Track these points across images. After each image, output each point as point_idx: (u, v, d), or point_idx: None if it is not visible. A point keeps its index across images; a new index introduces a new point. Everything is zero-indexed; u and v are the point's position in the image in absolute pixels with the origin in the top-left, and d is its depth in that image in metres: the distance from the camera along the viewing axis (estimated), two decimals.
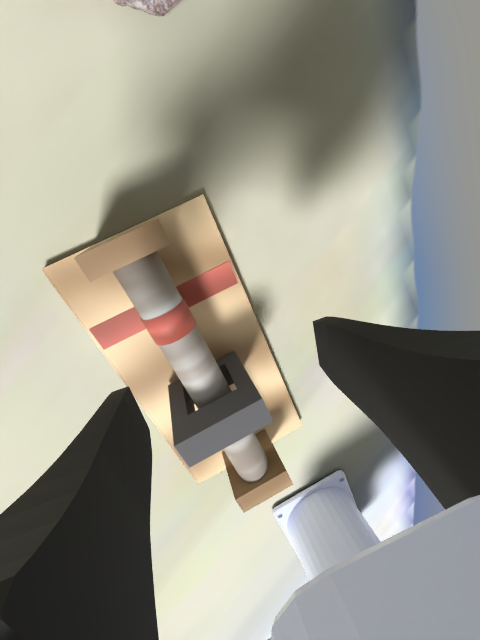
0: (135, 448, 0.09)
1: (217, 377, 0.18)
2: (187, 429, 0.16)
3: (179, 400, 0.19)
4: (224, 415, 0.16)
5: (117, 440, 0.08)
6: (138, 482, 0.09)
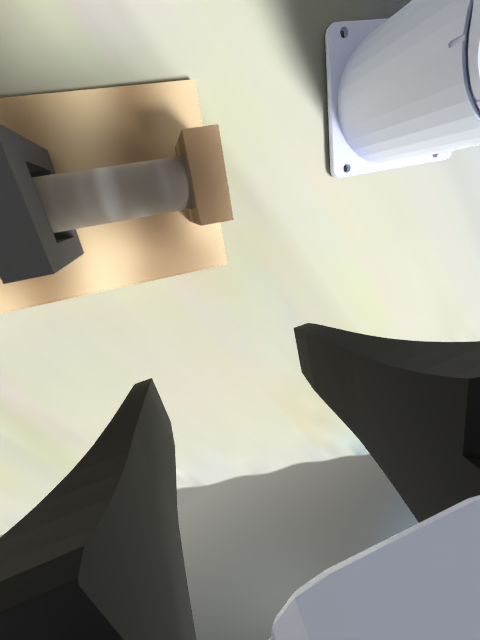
0: (161, 438, 0.09)
1: None
2: None
3: None
4: None
5: (147, 429, 0.08)
6: (165, 471, 0.09)
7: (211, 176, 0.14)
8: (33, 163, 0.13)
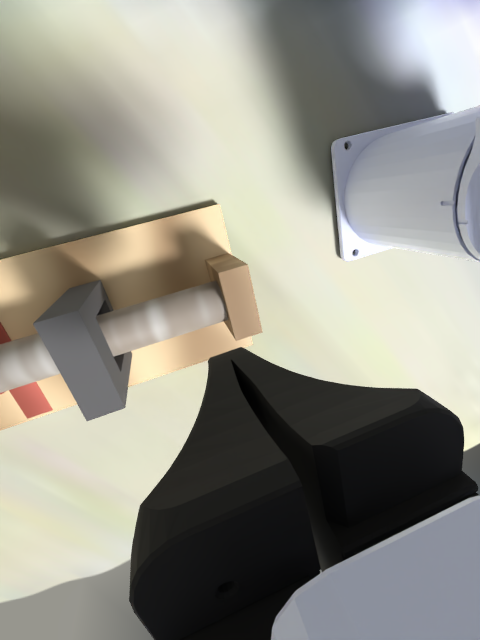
0: None
1: None
2: None
3: None
4: None
5: None
6: None
7: (243, 303, 0.16)
8: (98, 310, 0.15)
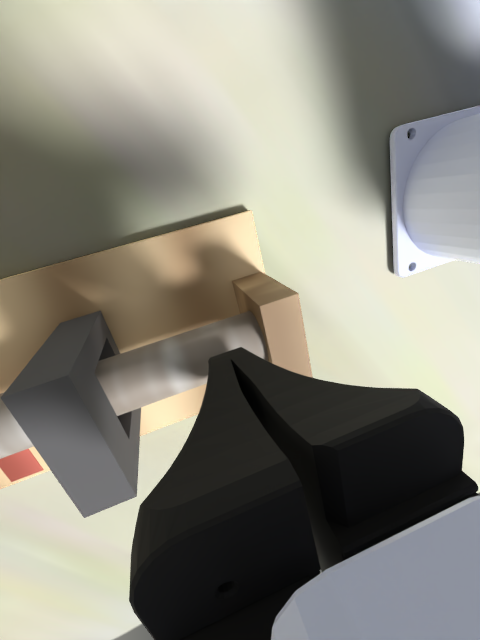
0: None
1: None
2: None
3: None
4: None
5: None
6: None
7: (290, 343, 0.12)
8: (98, 359, 0.11)
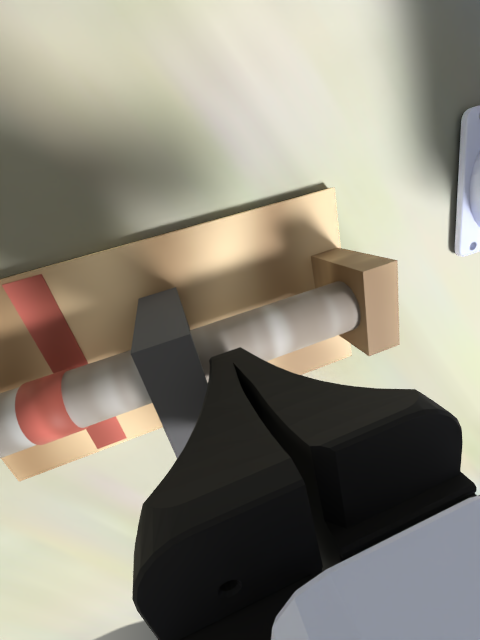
0: None
1: None
2: None
3: None
4: None
5: None
6: None
7: (384, 309, 0.13)
8: None
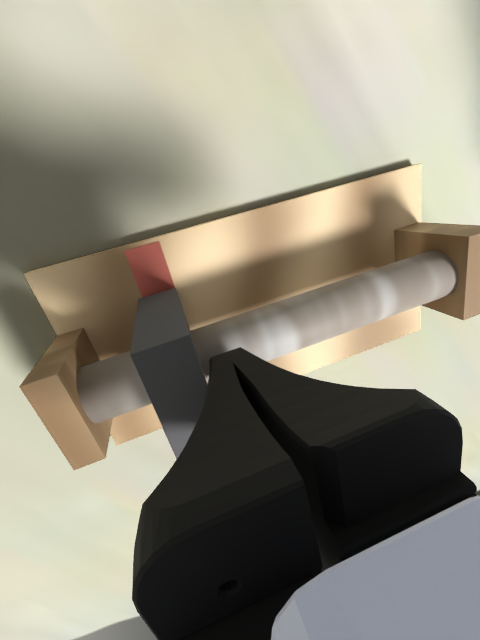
0: None
1: (275, 320, 0.13)
2: None
3: None
4: None
5: None
6: None
7: None
8: None
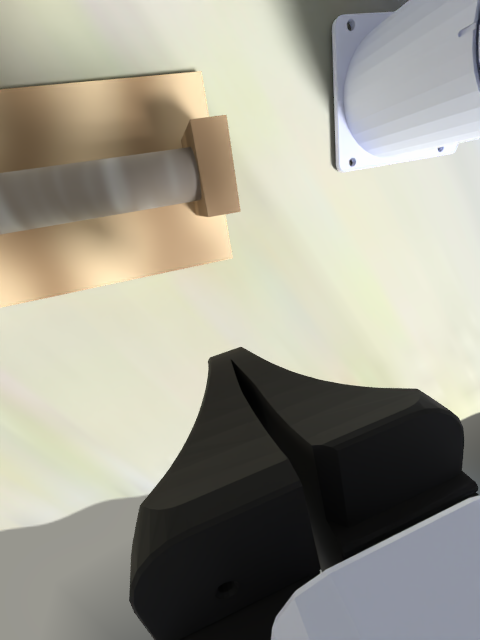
0: None
1: None
2: None
3: None
4: None
5: None
6: None
7: (219, 167, 0.14)
8: None
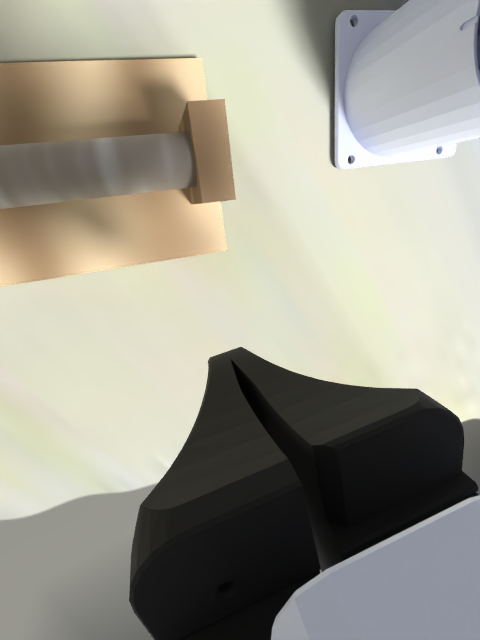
0: None
1: None
2: None
3: None
4: None
5: None
6: None
7: (215, 152, 0.14)
8: None
